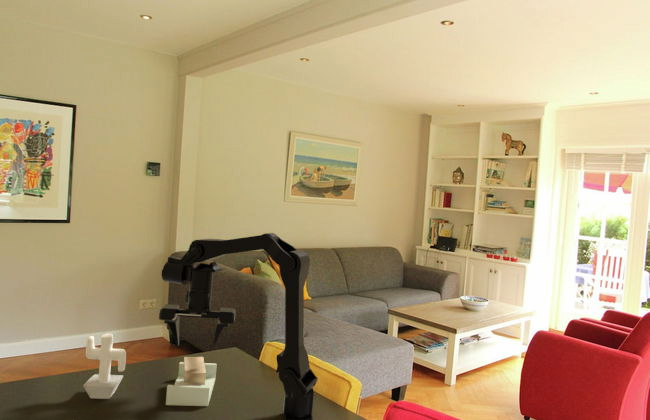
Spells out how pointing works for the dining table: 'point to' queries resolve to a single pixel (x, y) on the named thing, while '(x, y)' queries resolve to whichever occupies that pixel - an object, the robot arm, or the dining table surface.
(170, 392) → the pale green pegged panel
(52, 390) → the dining table surface
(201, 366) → the beige tapered block
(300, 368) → the robot arm
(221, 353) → the dining table surface
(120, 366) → the figurine
